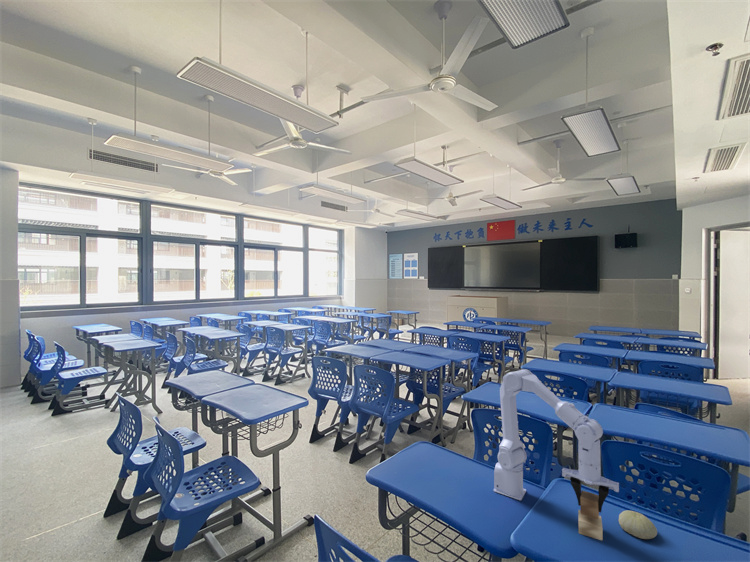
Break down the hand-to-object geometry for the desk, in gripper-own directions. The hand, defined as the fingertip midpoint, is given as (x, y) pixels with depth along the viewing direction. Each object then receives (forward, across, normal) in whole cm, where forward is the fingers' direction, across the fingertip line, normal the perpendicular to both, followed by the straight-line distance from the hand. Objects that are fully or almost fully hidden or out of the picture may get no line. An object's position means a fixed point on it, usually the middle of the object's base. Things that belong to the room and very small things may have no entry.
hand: (589, 507), depth 104 cm
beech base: (+7, 0, 0) cm, 7 cm away
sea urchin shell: (+7, +11, +9) cm, 16 cm away
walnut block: (+2, 0, 0) cm, 2 cm away
